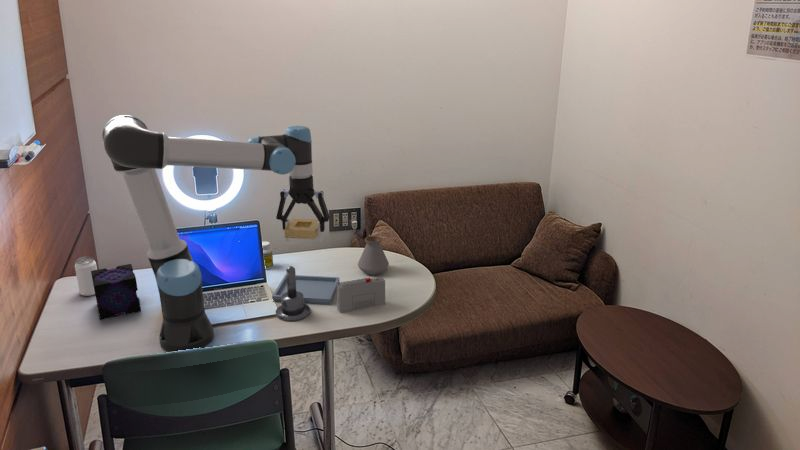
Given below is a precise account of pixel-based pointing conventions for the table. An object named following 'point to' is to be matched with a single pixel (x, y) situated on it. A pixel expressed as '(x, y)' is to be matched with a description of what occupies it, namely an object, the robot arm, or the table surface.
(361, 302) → the cassette player
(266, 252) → the supplement bottle
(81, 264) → the can
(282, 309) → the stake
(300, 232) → the ring
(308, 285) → the tray
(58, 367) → the table surface
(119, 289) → the energy cube
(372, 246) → the coffee pot
